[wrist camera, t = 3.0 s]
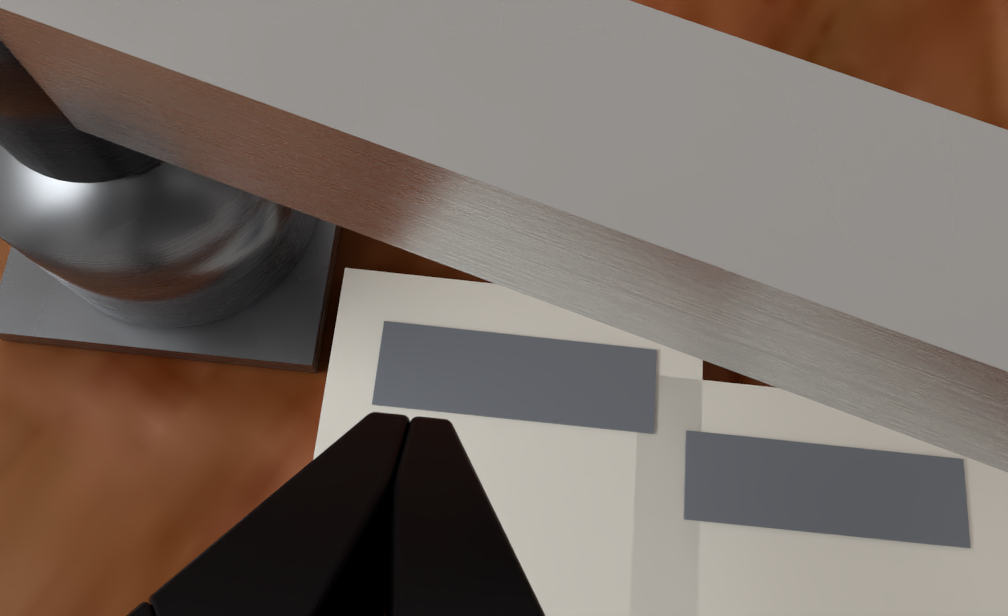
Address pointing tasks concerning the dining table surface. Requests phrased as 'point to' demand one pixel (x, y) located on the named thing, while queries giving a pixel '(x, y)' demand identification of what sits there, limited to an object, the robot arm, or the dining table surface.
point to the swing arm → (574, 174)
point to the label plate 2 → (837, 514)
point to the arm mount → (163, 268)
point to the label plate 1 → (537, 429)
